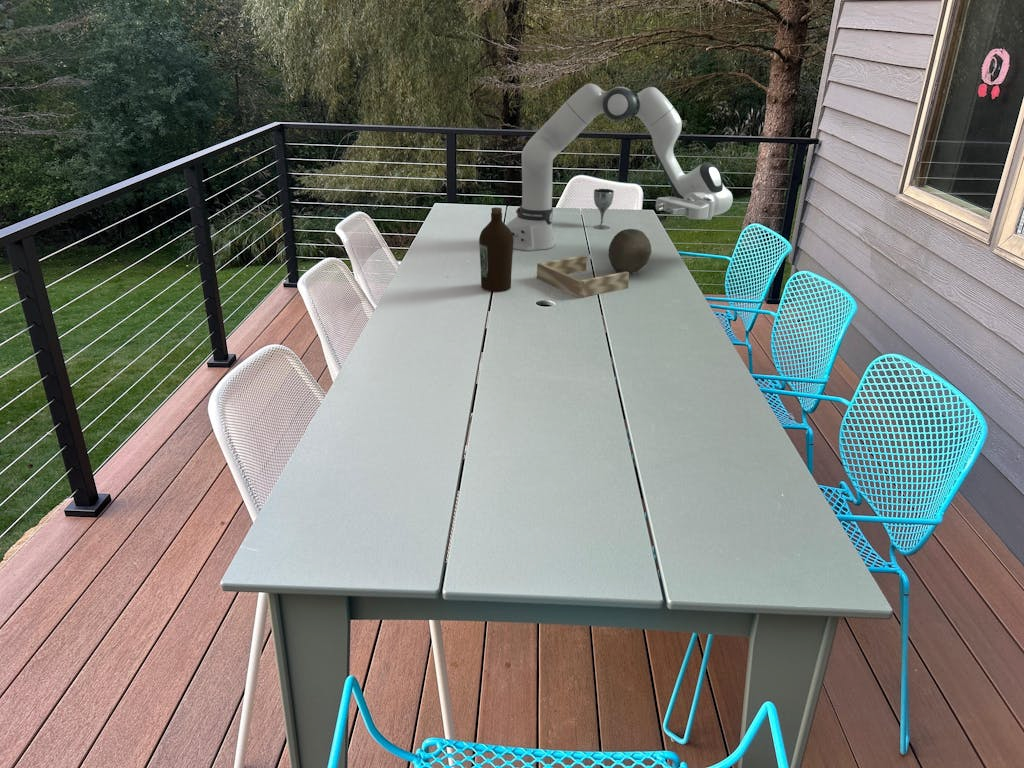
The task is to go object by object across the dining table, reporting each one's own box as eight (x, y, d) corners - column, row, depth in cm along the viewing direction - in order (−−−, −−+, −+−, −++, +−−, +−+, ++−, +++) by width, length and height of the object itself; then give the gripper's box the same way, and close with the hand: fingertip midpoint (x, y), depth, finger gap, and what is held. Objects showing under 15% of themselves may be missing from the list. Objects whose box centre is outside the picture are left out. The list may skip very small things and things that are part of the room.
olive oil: (507, 281, 248) (508, 203, 238) (516, 291, 239) (518, 211, 229) (475, 283, 245) (475, 205, 235) (484, 294, 236) (484, 213, 226)
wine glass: (611, 229, 312) (614, 192, 306) (592, 229, 312) (594, 192, 306) (610, 225, 320) (612, 188, 313) (591, 224, 320) (593, 188, 313)
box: (583, 269, 262) (584, 255, 259) (627, 287, 244) (629, 272, 242) (536, 278, 252) (537, 263, 250) (579, 297, 234) (580, 282, 232)
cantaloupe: (603, 277, 254) (606, 233, 247) (611, 266, 266) (614, 223, 259) (645, 282, 250) (650, 236, 244) (651, 270, 262) (656, 226, 256)
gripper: (674, 190, 270) (644, 194, 263) (717, 201, 254) (687, 206, 247) (672, 208, 272) (643, 213, 266) (715, 220, 257) (685, 225, 250)
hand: (664, 209), depth 256 cm, fingers open, 5 cm apart
